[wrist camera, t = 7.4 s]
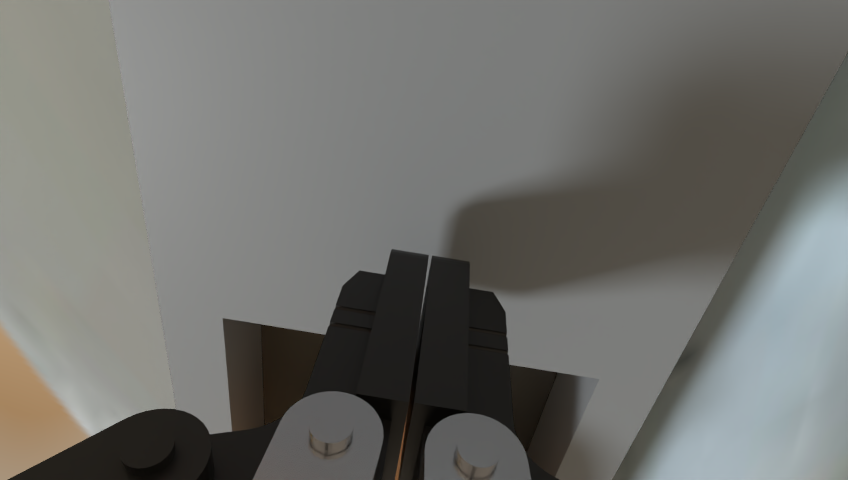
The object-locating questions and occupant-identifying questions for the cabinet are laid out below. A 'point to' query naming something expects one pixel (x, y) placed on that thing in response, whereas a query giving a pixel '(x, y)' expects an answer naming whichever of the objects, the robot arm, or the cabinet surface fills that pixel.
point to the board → (464, 176)
